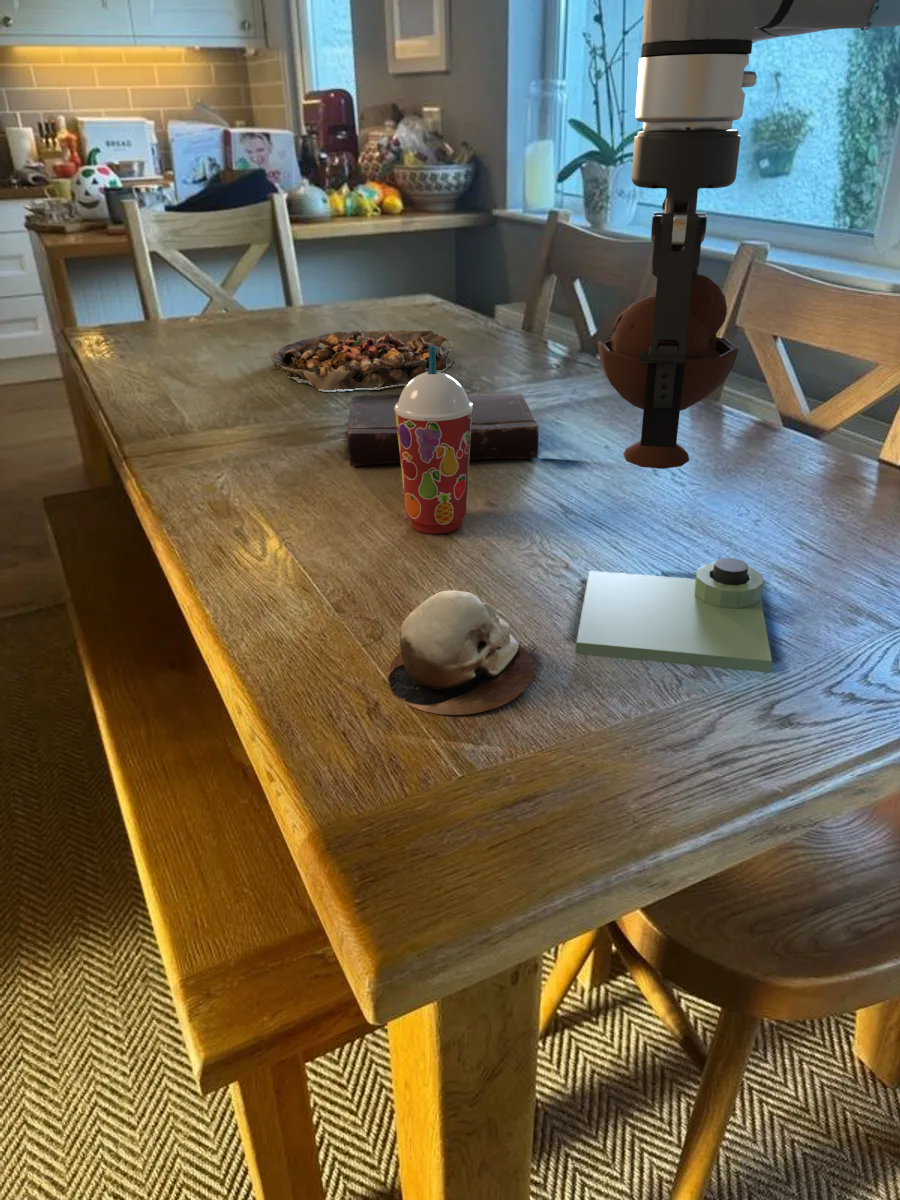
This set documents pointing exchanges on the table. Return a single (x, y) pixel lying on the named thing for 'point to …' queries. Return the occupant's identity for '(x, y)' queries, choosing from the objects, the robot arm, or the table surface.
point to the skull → (458, 657)
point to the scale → (675, 620)
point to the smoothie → (434, 449)
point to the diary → (494, 428)
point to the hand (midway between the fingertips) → (659, 423)
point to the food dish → (361, 358)
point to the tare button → (730, 571)
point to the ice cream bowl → (702, 363)
